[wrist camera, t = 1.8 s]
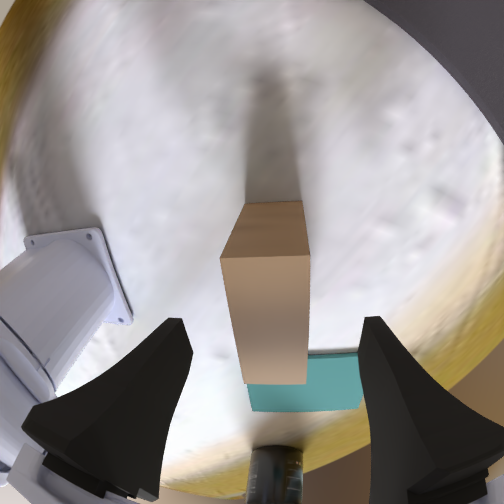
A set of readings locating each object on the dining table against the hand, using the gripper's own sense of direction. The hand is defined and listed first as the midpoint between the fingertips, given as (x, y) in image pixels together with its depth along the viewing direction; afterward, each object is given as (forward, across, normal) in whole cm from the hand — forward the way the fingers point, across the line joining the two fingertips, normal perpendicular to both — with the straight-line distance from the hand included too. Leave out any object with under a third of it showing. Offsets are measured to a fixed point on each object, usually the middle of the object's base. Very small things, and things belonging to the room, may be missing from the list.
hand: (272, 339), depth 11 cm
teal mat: (+6, -2, +12) cm, 14 cm away
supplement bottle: (+6, +1, +29) cm, 30 cm away
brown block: (+6, 0, 0) cm, 6 cm away
